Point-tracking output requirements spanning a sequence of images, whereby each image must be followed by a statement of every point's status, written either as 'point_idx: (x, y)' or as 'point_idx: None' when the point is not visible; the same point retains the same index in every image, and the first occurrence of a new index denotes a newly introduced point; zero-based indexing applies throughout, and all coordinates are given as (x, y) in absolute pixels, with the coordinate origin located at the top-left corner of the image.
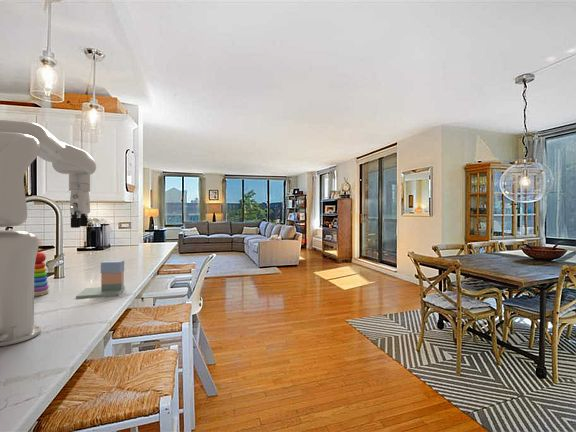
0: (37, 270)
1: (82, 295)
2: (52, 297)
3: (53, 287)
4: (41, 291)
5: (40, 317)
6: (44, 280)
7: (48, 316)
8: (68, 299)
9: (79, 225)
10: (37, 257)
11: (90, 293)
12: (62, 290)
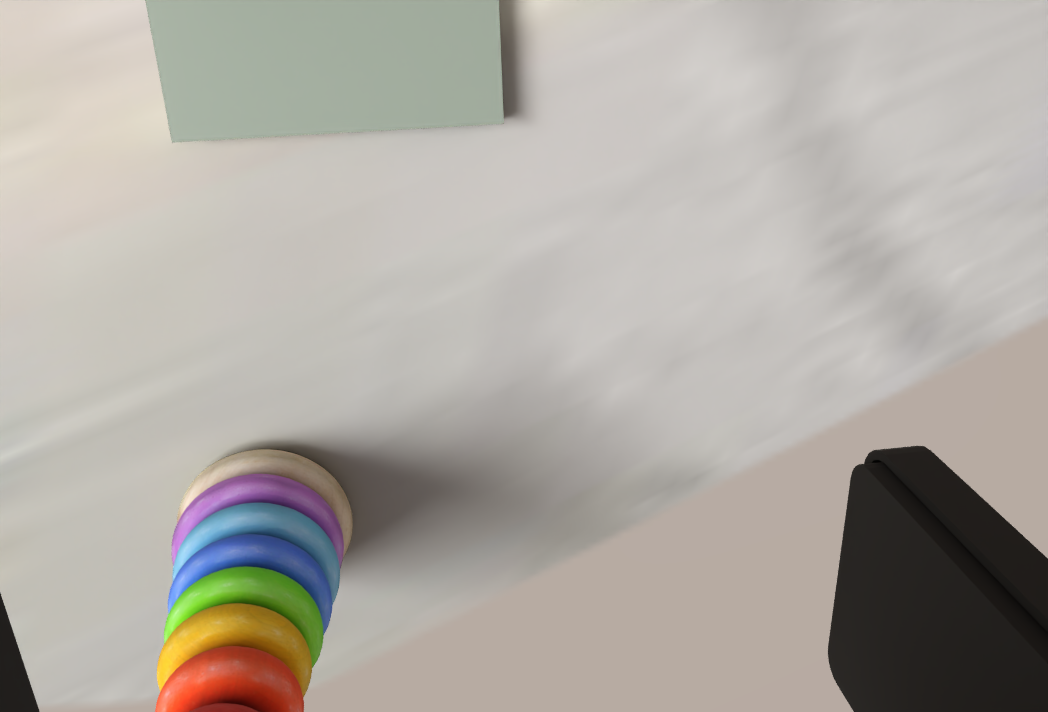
0: (303, 649)
1: (492, 65)
2: (408, 345)
3: (14, 506)
4: (314, 483)
5: (966, 178)
6: (265, 536)
7: (967, 131)
8: (514, 177)
9: (952, 484)
10: None
11: (424, 7)
12: (151, 373)
